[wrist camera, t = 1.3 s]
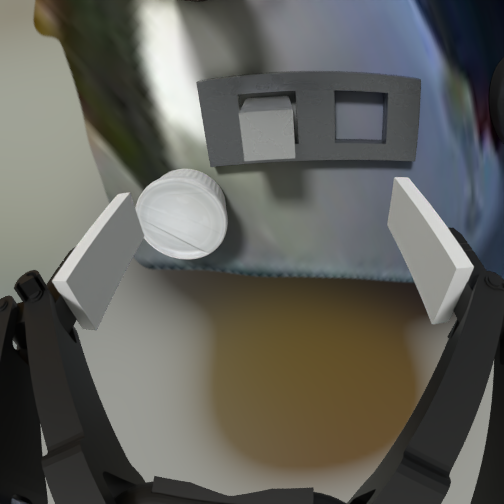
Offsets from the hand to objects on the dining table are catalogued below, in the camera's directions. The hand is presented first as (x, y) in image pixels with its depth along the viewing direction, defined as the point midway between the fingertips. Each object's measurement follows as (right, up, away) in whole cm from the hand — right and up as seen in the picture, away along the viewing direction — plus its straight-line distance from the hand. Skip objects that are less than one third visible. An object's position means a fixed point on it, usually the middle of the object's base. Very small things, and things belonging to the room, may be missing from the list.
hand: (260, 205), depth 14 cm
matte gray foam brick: (+1, +13, +17) cm, 21 cm away
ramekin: (-8, +4, +24) cm, 26 cm away
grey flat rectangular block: (+6, +13, +16) cm, 21 cm away
